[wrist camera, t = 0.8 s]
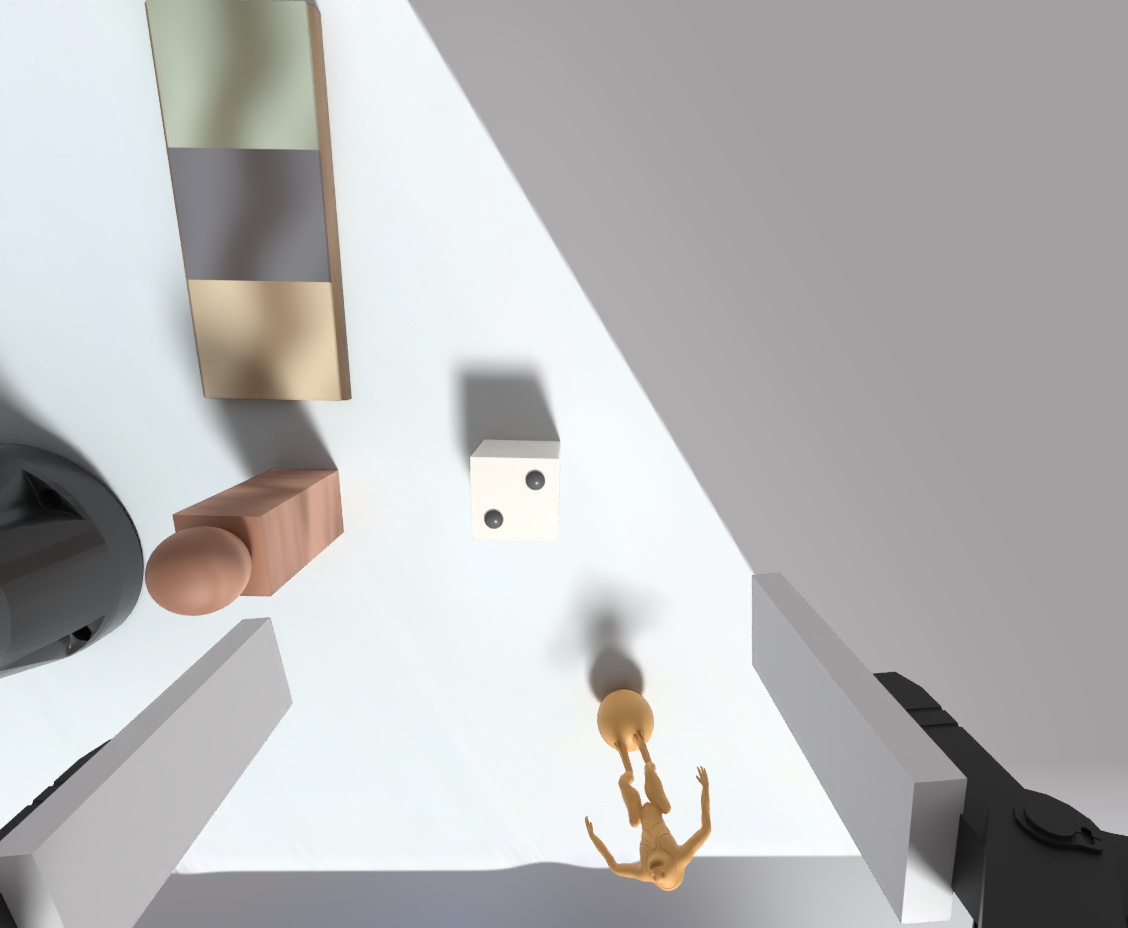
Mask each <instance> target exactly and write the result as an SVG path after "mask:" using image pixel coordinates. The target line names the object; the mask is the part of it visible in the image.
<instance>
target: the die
mask: <svg viewBox="0 0 1128 928" xmlns="http://www.w3.org/2000/svg"><path fill="white" fill-rule="evenodd" d="M470 475H471V513H472V540H506V541H550V542H557V538H558V524H559V497H560V441H534V440H487V439H484V440H483V442H482V443H481V444H480V445H479V446H478V448H477V449H476V450H475V451H474V453H473V454H472V455H471V456H470Z"/></svg>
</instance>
